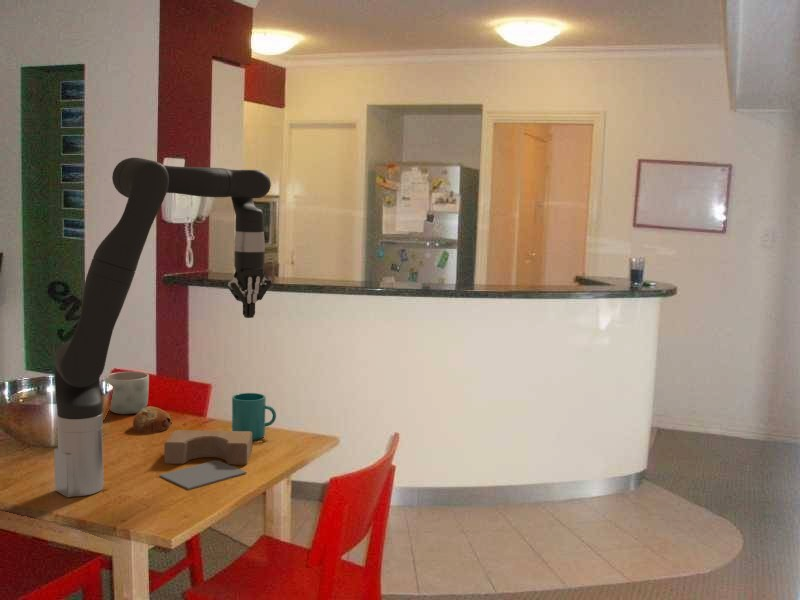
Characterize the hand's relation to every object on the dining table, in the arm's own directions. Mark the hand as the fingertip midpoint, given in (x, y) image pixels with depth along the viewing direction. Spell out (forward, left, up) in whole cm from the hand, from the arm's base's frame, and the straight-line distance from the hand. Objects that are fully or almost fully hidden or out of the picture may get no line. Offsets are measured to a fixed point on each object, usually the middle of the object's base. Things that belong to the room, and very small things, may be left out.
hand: (249, 317), depth 206 cm
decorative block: (-3, -5, -32) cm, 33 cm away
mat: (-19, -8, -35) cm, 41 cm away
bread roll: (-7, +35, -36) cm, 50 cm away
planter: (-3, +55, -35) cm, 66 cm away
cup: (+9, +9, -35) cm, 38 cm away
